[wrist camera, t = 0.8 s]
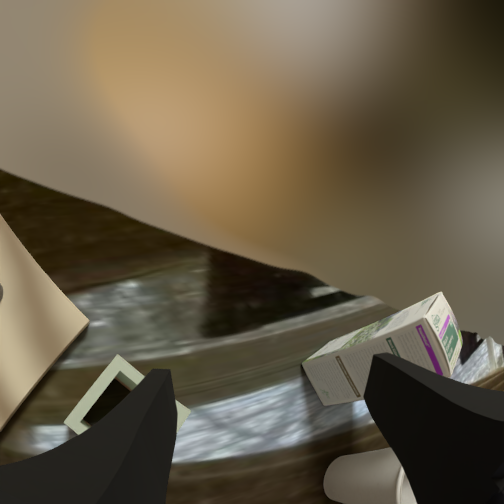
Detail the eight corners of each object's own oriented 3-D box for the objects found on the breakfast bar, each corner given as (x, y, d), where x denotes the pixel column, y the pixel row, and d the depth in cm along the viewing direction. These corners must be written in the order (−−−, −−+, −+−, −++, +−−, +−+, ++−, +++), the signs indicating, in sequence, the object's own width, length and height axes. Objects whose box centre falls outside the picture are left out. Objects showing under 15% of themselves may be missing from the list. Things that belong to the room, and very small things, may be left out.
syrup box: (323, 408, 27) (454, 380, 16) (298, 361, 28) (427, 315, 17) (351, 380, 30) (466, 344, 20) (329, 338, 32) (442, 287, 21)
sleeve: (131, 464, 16) (144, 480, 12) (68, 417, 15) (63, 422, 11) (169, 409, 20) (191, 411, 16) (110, 363, 19) (117, 354, 15)
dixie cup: (332, 523, 20) (412, 534, 12) (301, 478, 21) (388, 486, 14) (373, 475, 25) (447, 472, 18) (349, 429, 27) (428, 419, 20)
